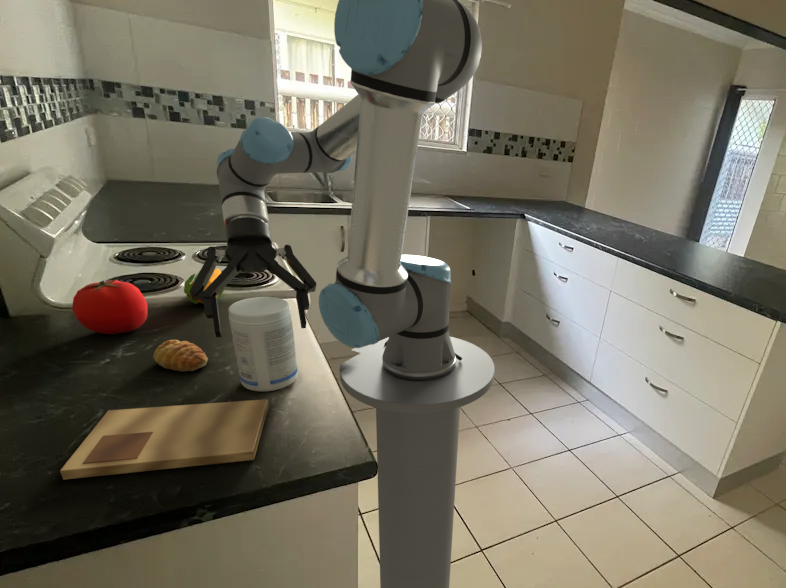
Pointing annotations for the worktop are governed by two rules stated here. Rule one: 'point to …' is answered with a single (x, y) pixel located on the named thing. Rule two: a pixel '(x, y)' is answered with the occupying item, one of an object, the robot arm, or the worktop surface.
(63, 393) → the worktop surface
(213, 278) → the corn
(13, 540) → the worktop surface
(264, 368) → the supplement tub
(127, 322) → the tomato
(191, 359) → the pastry
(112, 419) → the cutting board
